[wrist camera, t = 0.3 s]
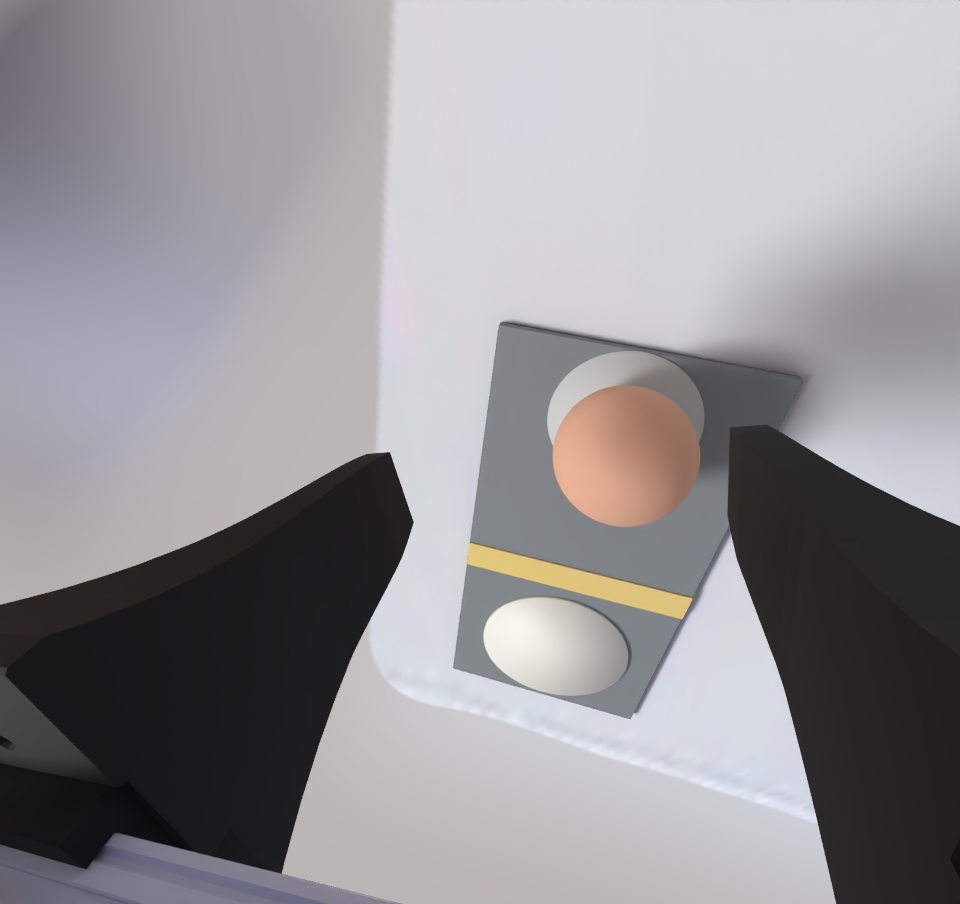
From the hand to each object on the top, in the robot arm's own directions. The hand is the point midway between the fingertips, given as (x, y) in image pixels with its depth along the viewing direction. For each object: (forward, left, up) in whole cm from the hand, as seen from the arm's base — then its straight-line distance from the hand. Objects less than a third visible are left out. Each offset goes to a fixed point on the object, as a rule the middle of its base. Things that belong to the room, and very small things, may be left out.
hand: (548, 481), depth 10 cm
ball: (-4, +1, -7) cm, 8 cm away
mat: (-9, +7, -10) cm, 15 cm away
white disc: (-12, +12, -9) cm, 20 cm away
